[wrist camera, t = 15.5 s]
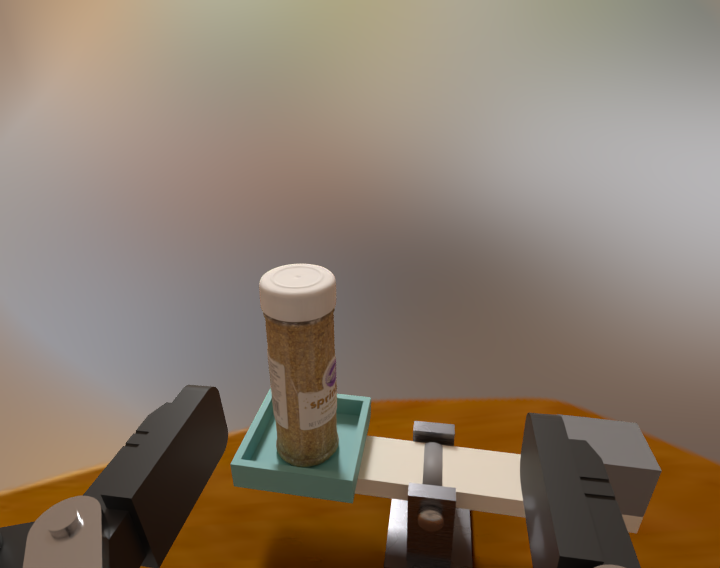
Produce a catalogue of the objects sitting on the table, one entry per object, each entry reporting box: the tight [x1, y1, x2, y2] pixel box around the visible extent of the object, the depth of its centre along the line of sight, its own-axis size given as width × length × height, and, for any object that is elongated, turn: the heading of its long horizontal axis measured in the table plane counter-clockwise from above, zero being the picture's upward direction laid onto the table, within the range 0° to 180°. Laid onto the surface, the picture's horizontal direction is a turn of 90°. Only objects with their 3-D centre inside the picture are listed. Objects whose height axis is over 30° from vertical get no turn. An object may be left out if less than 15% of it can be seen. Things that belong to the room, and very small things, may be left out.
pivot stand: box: [384, 421, 473, 568], centre depth 34 cm, size 6×8×8 cm
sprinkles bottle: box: [259, 264, 339, 467], centre depth 31 cm, size 5×5×14 cm
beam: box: [231, 388, 661, 533], centre depth 32 cm, size 26×8×6 cm, turn 81°
